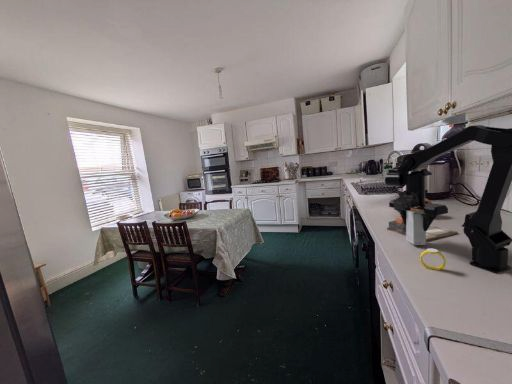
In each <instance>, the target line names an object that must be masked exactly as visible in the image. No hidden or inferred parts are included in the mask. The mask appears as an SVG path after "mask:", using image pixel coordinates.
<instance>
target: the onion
mask: <svg viewBox="0 0 512 384" xmlns="http://www.w3.org/2000/svg"><path fill="white" fill-rule="evenodd" d="M425 201H428V204H425V205H431V204H434V203H433V201H431V200H430V199H428V198H426V197H425ZM418 207H419V206H418ZM411 210H419V211H421V212H423V213H425V212H424V210H420V209H415V208H411Z"/></svg>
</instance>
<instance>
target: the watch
mask: <svg viewBox="0 0 512 384" xmlns="http://www.w3.org/2000/svg"><path fill="white" fill-rule="evenodd" d="M426 254H430V255H438V256H440V257H441V258H442V260H443V262H442V264H441V265H440V266H432V265H427V264H426V263H425V262H424V260H423V256H425V255H426ZM419 259H420V263H421V265H422V266H423V267H424V268H426V269H430V270H435V271H440V270H442V269H444V268H445V267H446V264H447V263H446V257H445V256H444V254H443V253H441V252H440V251H439V250H438V249H436V248H431V247H430V248H426V250H424V251H423V252H421V254H420V257H419Z"/></svg>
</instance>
